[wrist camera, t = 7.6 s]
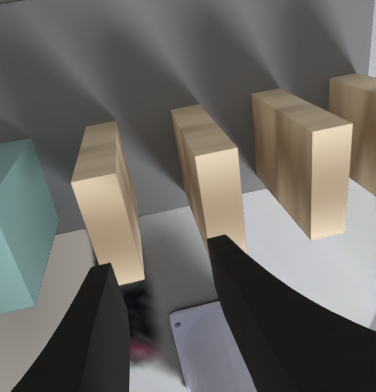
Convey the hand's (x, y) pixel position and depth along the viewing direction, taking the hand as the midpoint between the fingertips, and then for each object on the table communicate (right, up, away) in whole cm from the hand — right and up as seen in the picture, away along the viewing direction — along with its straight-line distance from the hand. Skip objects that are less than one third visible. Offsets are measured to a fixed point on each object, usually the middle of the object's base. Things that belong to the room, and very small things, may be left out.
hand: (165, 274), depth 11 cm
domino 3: (+1, +5, +9) cm, 10 cm away
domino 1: (-8, +3, +8) cm, 12 cm away
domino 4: (+5, +6, +9) cm, 12 cm away
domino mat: (0, +7, +8) cm, 11 cm away
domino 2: (-3, +4, +9) cm, 10 cm away
